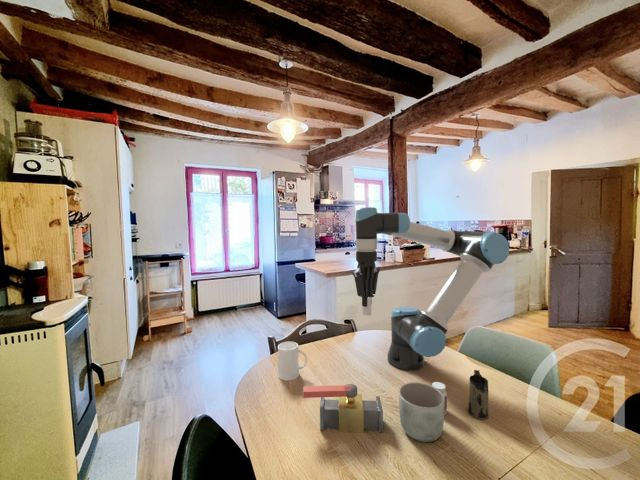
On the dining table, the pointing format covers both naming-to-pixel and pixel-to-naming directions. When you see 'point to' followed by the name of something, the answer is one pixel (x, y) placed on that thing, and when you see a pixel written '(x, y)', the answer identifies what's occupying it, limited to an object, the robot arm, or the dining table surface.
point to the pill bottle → (442, 389)
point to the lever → (330, 391)
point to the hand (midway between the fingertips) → (366, 314)
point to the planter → (421, 411)
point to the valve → (351, 414)
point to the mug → (289, 361)
